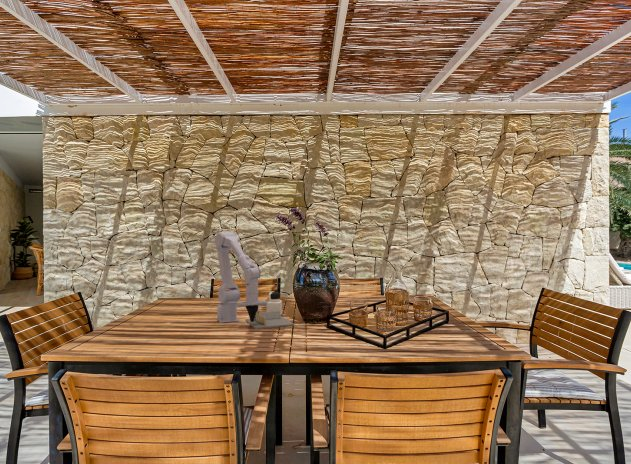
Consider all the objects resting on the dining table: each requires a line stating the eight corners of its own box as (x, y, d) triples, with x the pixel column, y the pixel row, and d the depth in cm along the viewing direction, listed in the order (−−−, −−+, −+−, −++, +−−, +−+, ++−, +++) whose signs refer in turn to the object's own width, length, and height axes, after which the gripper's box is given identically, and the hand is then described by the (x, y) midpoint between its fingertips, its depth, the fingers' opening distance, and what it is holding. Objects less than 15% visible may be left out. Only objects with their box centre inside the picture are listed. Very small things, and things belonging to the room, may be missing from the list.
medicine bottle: (282, 313, 249) (282, 291, 249) (279, 316, 242) (280, 293, 242) (269, 313, 250) (269, 291, 250) (266, 316, 243) (266, 293, 243)
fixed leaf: (255, 321, 227) (255, 310, 227) (253, 320, 229) (253, 309, 229) (281, 319, 232) (281, 308, 232) (279, 318, 234) (279, 307, 234)
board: (255, 329, 214) (255, 327, 214) (245, 320, 231) (245, 319, 231) (294, 325, 221) (294, 324, 221) (282, 317, 238) (282, 316, 238)
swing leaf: (264, 325, 217) (264, 316, 217) (253, 319, 229) (253, 311, 229) (269, 324, 218) (269, 315, 218) (258, 319, 230) (258, 310, 230)
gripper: (238, 294, 213) (238, 324, 213) (269, 293, 218) (269, 321, 219) (235, 292, 220) (235, 321, 220) (265, 291, 225) (265, 318, 225)
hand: (252, 321), depth 220 cm, fingers closed
